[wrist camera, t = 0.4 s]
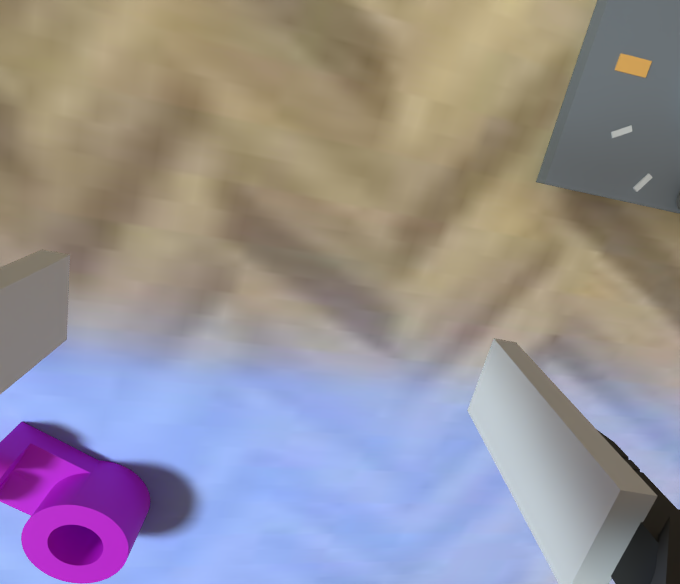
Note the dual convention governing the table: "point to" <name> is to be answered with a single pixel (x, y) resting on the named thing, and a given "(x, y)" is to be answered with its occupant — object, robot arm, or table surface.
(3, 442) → the tape dispenser
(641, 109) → the panel
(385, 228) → the table surface
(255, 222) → the table surface
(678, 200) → the dial
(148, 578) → the table surface
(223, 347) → the table surface
